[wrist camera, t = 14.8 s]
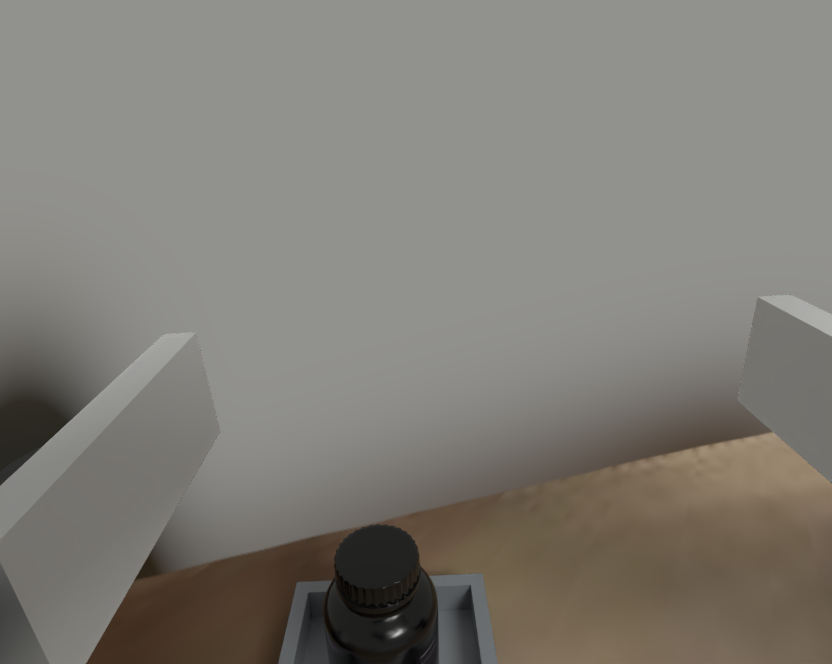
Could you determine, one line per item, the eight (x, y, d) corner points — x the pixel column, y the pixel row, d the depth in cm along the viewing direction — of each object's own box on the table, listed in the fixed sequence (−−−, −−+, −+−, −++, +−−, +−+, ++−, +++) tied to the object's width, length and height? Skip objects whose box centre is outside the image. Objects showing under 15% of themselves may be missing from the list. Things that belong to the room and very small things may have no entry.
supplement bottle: (319, 739, 32) (292, 593, 28) (355, 637, 38) (338, 504, 34) (430, 763, 31) (421, 614, 26) (449, 654, 37) (445, 517, 32)
